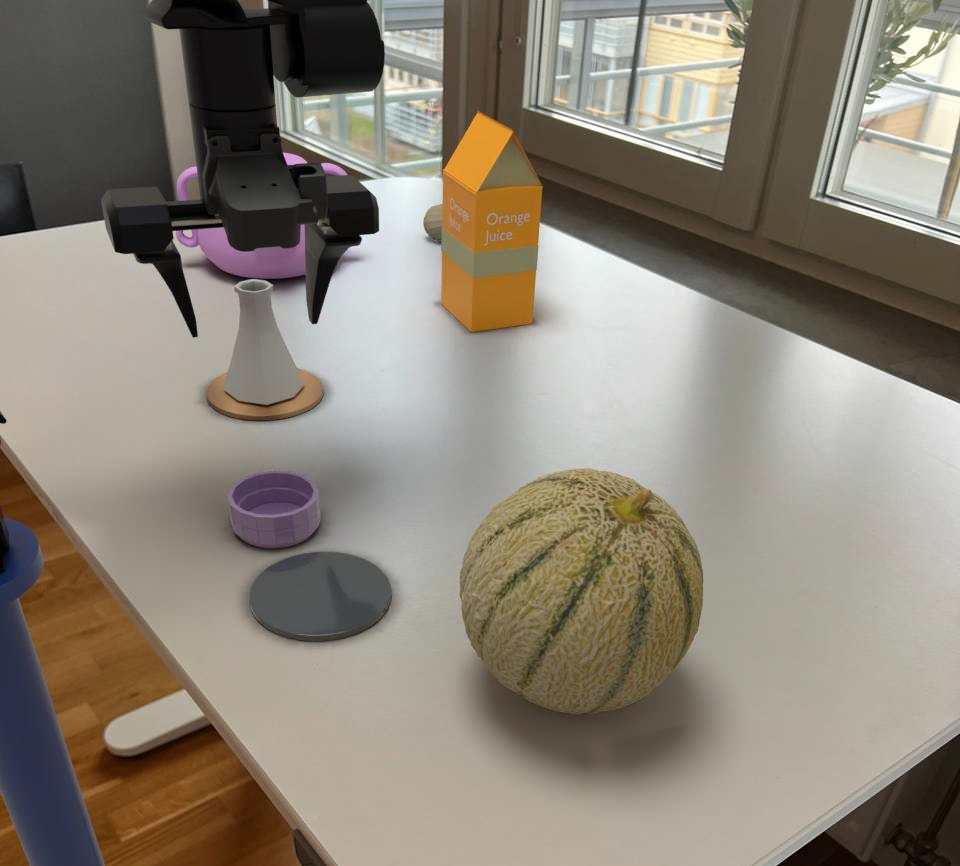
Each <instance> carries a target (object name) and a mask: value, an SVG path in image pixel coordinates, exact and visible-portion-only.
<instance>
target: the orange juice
mask: <svg viewBox="0 0 960 866" xmlns="http://www.w3.org/2000/svg"><path fill="white" fill-rule="evenodd" d="M543 188H544V186H543V184H542V182H541V180H540V178H539V176H538V174H537V172H536V171H535V169H534V167H533V165H532V163H531V162H530V159H529V158H528V156H527V153H526V151H525V150H524V148H523V147H522V145H521V142H520V141H519V139H518V137H517V135H516V133H515V131H514V130H513V129H512V128H510V127H508V126H507V125H504V123H501V122H500V121H498V120H496V119H494V118H492V117H490V116H488V115H486V114H485V113H483V112H481V111H479V110H477V112H476V114H475V116H474V118H473V120H472V121H471V123H470V125H469V126H468V128H467V130H466V131H465V133H464V135H463V136H462V138H461V140H460V142H459V144H458V145H457V147H456V148H455V150H454V152H453V153H452V155H451V156H450V159H449V160H448V162H447V164H446V166H445V167H444V168H443V169H442V204H443V209H442V240H441V247H440V248H441V249H440V250H441V277H440V278H441V282H440V283H441V286H440V300H441V301H440V304H441V306H443V307H444V308H445V309H446V310H447V311H448V312H449V313H450V314H451V315H452V316H453V317H455V319H457V320H458V321H459V322H460V324H462V325H463V326H464V327H465V328H466V329H467V330H468V331H469V332H470V333H475V332H476V333H477V332H483V331H489V330H496V329H504V328H510V327H518V326H524V325H525V326H526V325H532V324H533V318H534V305H535V294H536V293H535V292H536V281H537V280H536V277H537V270H538V259H539V258H538V257H539V240H540V239H539V238H540V225H541V211H542V201H543V200H542V197H543Z"/></svg>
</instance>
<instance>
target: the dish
mask: <svg viewBox="0 0 960 866" xmlns="http://www.w3.org/2000/svg"><path fill="white" fill-rule="evenodd" d="M317 486H318V485H317V483H316V482H315V481H314V480H312V479H311V478H309V477H308V476H307V475H305V474H302V473H298V472H295V471H289V470H267V471H259V472H254V473H252V474H250V475H247V476H244V477H242V478H240V479H239V480H237V481H235V483H233V484H232V485H231V486H230V488H229V490H228V492H227V495H226V500H227V507H228V514H229V518H230V519H229V520H230V525H231V529H232V531H233V533H234V534H236V535H237V536H238V537H239V538H240V539H241V540H242V541H243V542H245V543H247V544H249V545H251V546H255V547H258V548H264V549H280V548H281V549H282V548H289V547H292V546H296V545H298V544H301V543H302V542H304V541H306V540H308V539H309V538H310V537H311V536H312V535H313V534H314V533H315V531H316V530H317V529H318V527H319V526H320V523H321V519H322V515H321V502H320V491H319V488H318V487H317Z"/></svg>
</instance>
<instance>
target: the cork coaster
mask: <svg viewBox="0 0 960 866" xmlns="http://www.w3.org/2000/svg"><path fill="white" fill-rule="evenodd" d="M297 369H298V371H299V373H300V375H301V377H302V379H303V381H304V383H305V385H304V386H303V387H302V388H301V389H300V391H299V392H298V393H297V394H296V395H295V396H294V397H292V398H289V399H285V400H282V401H279V402H275V403H272V404H268V405H264V404H257V403H251V402H244V401H238V400H237V399H235V398H234V397H233V396H231V395H230V394H229V393H227V392H226V391H225V390H224V389H223V388H224V384H225V380H226V377H227V373H228V371H227V372H224V373H222V374H220V375H218V376H217V377H215V378H214V379H213V380H212V381H211V382H210V383H209V384H208V386H207V388H206V392H205V393H206V394H205V395H206V399H207V403H208V404H209V406H210V407H211V408H212V409H213V410H214V411H216V412H218V413H220V414H222V415H224V416H227V417H231V418H233V419H239V420H248V421H274V420H275V421H276V420H282V419H288V418H292V417H295V416H298V415H299V416H300V415H302V414H304V413H306V412H308V411H310V410H312V409H313V408H314V407H317V405H318V404H319V403H320V402H321V401H322V399H323V397H324V385H323V383H322V381H321V380H320V379H319V378H318V377H317V375H314V374H313V373H311V372H309V371H307V370H305V369H301V368H298V367H297Z"/></svg>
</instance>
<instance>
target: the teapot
mask: <svg viewBox="0 0 960 866" xmlns="http://www.w3.org/2000/svg"><path fill="white" fill-rule="evenodd" d="M282 152H283V154H284V157H285V159H286V162H287V165H294V164H303V163H308V161H307V160H306V159H304V158H303V157H301V156H299V155H297V154H293V153H289V152H284V151H282ZM321 165H322V167H323V169H324V171H325V174H326V175H328V174H329V175H332V176H340V175H348V173H347V172H346V171H345V170H344V169H343V168H342V167H340V166H339V165H336V164H334V163H330V162H322V163H321ZM193 178H198V175H197V167H196V165H195V166H191V167H188V168H187V169H185V170H184V171H182V172H181V173H180V175H179V176H178V178H177V181H176V194H177V198H178V201H185V200H190V199H189V196H188V192H187V183H188V182H189V181H190V180H191V179H193ZM190 231H191V237H189V236H187V235H185V234H184V230H181V231H175V238H176V239H177V241H178V243H179V244H180V245H182V246H184V247H186V248H191V249H192V248H196V247H198V246H199V248H200V250H201V251H202V253H203V254H204V255H205V256H206V257H207V259H209V260H210V261H211V262H212V263H213V264H214V265H215V266H216V267H217V268H218V269H220V270H222V271H223V272H225V273H228V274H231V275H235V276H238V277H242V278H251V279H261V280H265V279H267V280H269V279H274V280H275V279H287V278H295V277H300V276H306V267H305V224H304V225H301V233H300V243H299V244H298V245H297V246H295V247H293V248H286V249H283V248H281V247H267V248H257V249H255V250H254V251H250V252H242V251H238V250H235V249H234V248H232V247H231V246H230V245H229V243H228V240H227V235H226V232H225V229H224V227H221V228H208V229H194V230H190Z"/></svg>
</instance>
